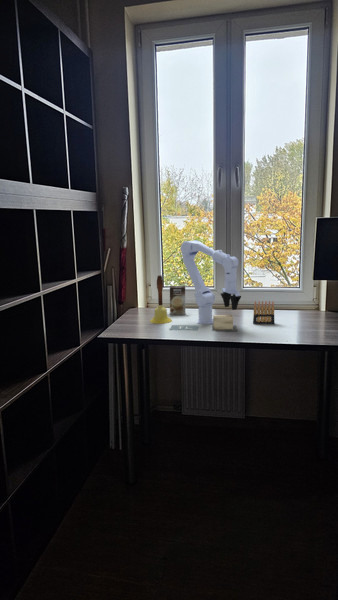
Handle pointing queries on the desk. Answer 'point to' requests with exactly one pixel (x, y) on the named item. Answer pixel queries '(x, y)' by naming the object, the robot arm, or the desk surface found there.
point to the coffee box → (177, 300)
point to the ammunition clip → (263, 313)
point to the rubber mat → (225, 329)
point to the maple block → (223, 322)
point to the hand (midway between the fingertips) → (230, 308)
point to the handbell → (160, 306)
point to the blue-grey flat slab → (184, 327)
